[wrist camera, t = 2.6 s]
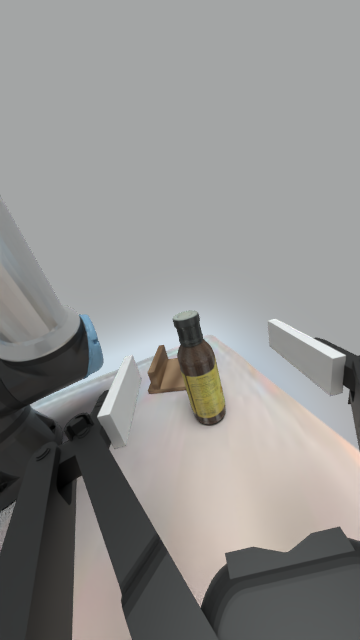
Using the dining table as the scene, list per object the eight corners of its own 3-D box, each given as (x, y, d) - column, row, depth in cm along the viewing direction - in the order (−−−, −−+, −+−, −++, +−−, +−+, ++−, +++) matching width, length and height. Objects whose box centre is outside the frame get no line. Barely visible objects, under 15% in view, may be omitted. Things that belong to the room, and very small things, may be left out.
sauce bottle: (233, 408, 32) (216, 308, 25) (211, 433, 28) (185, 326, 21) (207, 392, 37) (187, 306, 30) (186, 412, 33) (158, 320, 26)
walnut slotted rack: (149, 393, 40) (141, 373, 38) (159, 363, 51) (154, 346, 49) (207, 387, 38) (202, 365, 36) (205, 356, 49) (201, 338, 47)
